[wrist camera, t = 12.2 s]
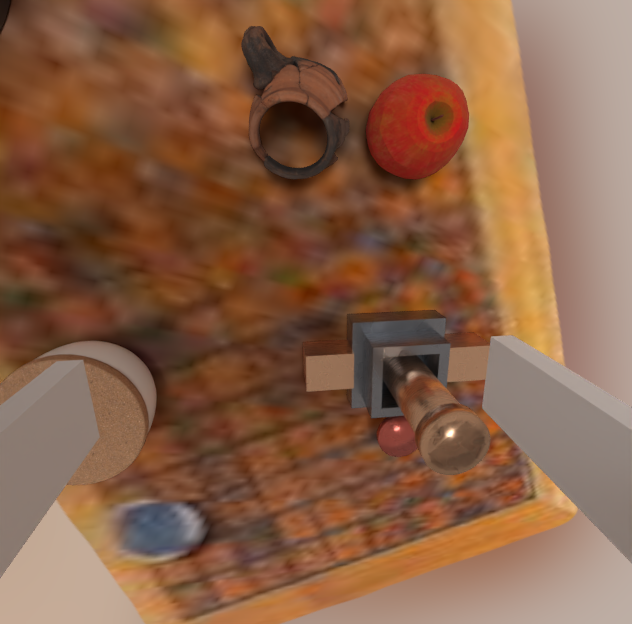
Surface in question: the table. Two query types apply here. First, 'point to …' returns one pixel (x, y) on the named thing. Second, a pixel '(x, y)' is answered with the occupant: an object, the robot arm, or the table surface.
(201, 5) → the table surface
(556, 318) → the table surface
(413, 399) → the pipe fitting
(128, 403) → the lidded bowl
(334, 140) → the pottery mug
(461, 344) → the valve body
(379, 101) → the apple
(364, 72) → the table surface
